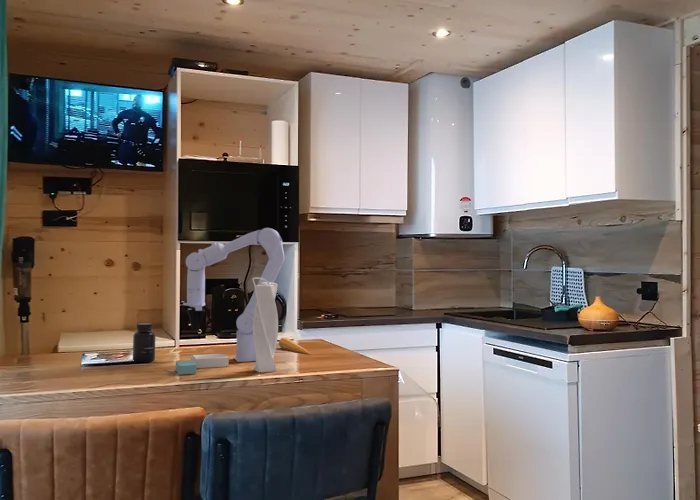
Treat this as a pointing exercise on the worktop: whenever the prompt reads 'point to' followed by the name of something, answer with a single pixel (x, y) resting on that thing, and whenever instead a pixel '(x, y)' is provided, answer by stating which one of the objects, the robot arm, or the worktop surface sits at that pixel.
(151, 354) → the supplement bottle
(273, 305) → the skyscraper
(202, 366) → the gray rectangular block
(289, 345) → the carrot
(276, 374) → the worktop surface
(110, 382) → the worktop surface
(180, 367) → the stub
